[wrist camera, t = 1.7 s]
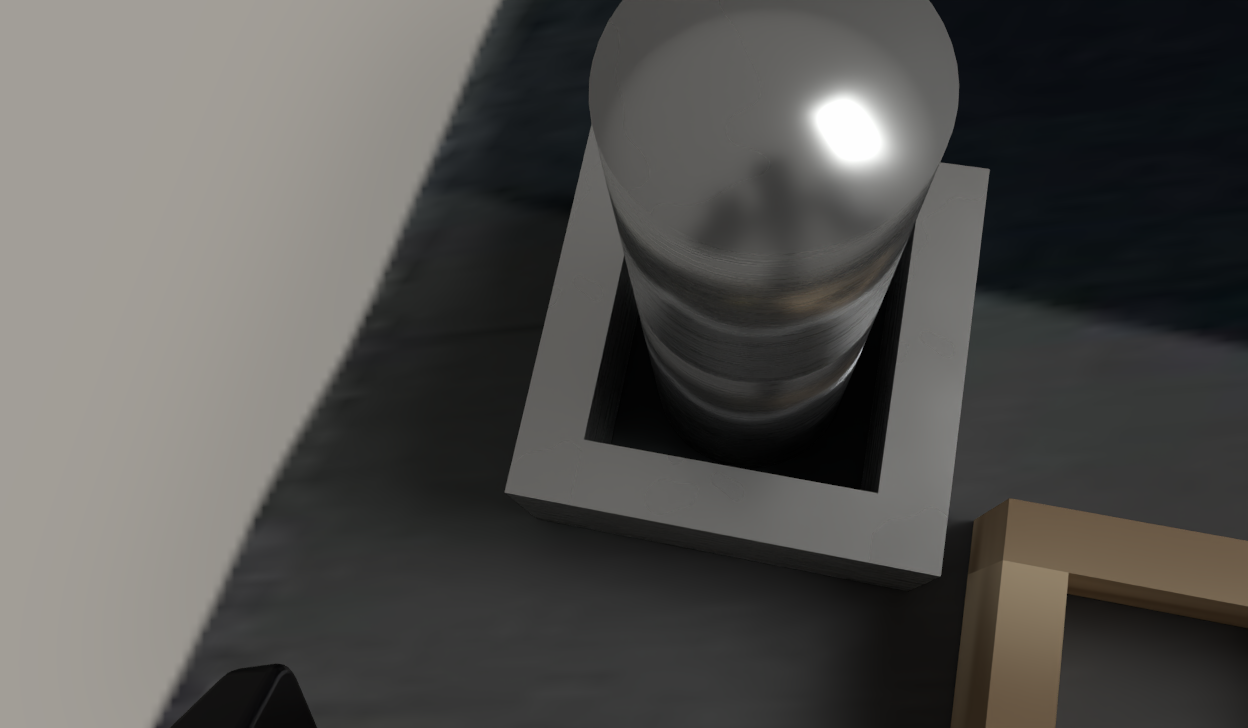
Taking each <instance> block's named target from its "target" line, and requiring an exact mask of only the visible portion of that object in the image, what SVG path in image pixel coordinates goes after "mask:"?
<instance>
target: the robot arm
mask: <svg viewBox="0 0 1248 728" xmlns="http://www.w3.org/2000/svg"><path fill="white" fill-rule="evenodd" d="M170 728H317V726H316V724H315V722H314V719H313V717H312V715H311V712H310V710H309V708H308V705H307V703H306V701H305V698H304V696H303V693H302V691H301V689H300V686H299V684H298V682H297V679H296V677H295V676H294V674H293V672H292V671H291V670H290V669H289V668H288V667H287V666H285V665H282V664H270V665H262V666H255V667H248V668H241V669H237V670H234V671H231V672H229V673H227V674H226V675H225V676H224V677H222V678H221V679H220V680H219V681H218V682H217V683H216V684H215V685H214V686H213V687H212V688H211V689H210V690H209V691H208V692H207V693H205V694H204V695H203V696H202V697H201V698H200V699H199V700H198V701H197V702H196V703H195V704H194V705H193V706H192V707H191V708H190V709H189V710H188V711H187V712H186V713H185V714H184V715H183V716H182V717H181V718H179V719H178V720H177V721H176V722H175V723H174V724H173V725H172V726H171V727H170Z"/></svg>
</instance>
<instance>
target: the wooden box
mask: <svg viewBox="0 0 1248 728" xmlns="http://www.w3.org/2000/svg"><path fill="white" fill-rule="evenodd" d="M1067 594H1072V595H1077V596H1082V597H1087V598H1093V599H1098V600H1103V601H1108V602H1113V603H1119V604H1124V605H1129V606H1134V607H1140V608H1145V609H1150V610H1155V611H1160V612H1166V613H1171V614H1176V615H1181V616H1187V617H1192V618H1197V619H1202V620H1207V621H1213V622H1218V623H1223V624H1228V625H1234V626H1239V627H1244V628H1248V541H1244V540H1238V539H1233V538H1227V537H1222V536H1216V535H1211V534H1205V533H1200V532H1194V531H1188V530H1183V529H1177V528H1172V527H1166V526H1161V525H1155V524H1149V523H1144V522H1138V521H1133V520H1127V519H1122V518H1116V517H1110V516H1105V515H1099V514H1094V513H1088V512H1083V511H1077V510H1072V509H1066V508H1060V507H1055V506H1049V505H1044V504H1038V503H1033V502H1027V501H1021V500H1016V499H1010V498H1009V499H1008V500H1006V501H1004V502H1003V503H1001V504H1000V505H998V506H996V507H995V508H993V509H991V510H990V511H988V512H987V513H985V514H983V515H982V516H980V517H979V518H977V519H975V520H974V525H973V534H972V542H971V551H970V560H969V569H968V578H967V587H966V596H965V604H964V613H963V622H962V631H961V640H960V649H959V658H958V666H957V675H956V684H955V693H954V702H953V711H952V720H951V728H1055V725H1056V713H1057V702H1058V690H1059V679H1060V667H1061V656H1062V644H1063V633H1064V621H1065V610H1066V598H1067Z"/></svg>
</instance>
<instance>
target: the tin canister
mask: <svg viewBox="0 0 1248 728" xmlns="http://www.w3.org/2000/svg"><path fill="white" fill-rule="evenodd" d="M958 96H959V79H958V69H957V62H956V58H955V54H954V50H953V46H952V43H951V40H950V38H949V36H948V33H947V31H946V28H945V26H944V24H943V22H942V20H941V19H940V17H939V15H938V14H937V12H936V10H935V9H934V7H933V5H932V4H931V3H930V1H929V0H623V1H622V2H621V3H620V4H619V6H618V7H617V9H616V10H615V12H614V14H613V15H612V17H611V18H610V20H609V21H608V23H607V25H606V27H605V29H604V31H603V33H602V36H601V38H600V40H599V42H598V45H597V49H596V52H595V55H594V58H593V61H592V67H591V73H590V79H589V108H590V115H591V123H592V127H593V131H594V135H595V139H596V143H597V147H598V151H599V155H600V159H601V163H602V167H603V171H604V175H605V179H606V183H607V187H608V191H609V195H610V200H611V204H612V208H613V212H614V216H615V220H616V224H617V228H618V232H619V236H620V240H621V244H622V248H623V252H624V256H625V260H626V264H627V268H628V272H629V276H630V280H631V284H632V288H633V292H634V296H635V300H636V304H637V308H638V312H639V316H640V320H641V324H642V328H643V333H644V337H645V341H646V345H647V349H648V353H649V357H650V361H651V365H652V369H653V373H654V377H655V381H656V385H657V389H658V393H659V397H660V400H661V404H662V407H663V410H664V412H665V414H666V416H667V418H668V420H669V422H670V423H671V425H672V427H673V428H674V429H675V431H676V432H677V433H678V434H679V436H680V437H681V438H682V439H683V440H684V441H685V442H686V443H687V444H688V445H690V446H691V447H692V448H694V449H695V450H696V451H698V452H699V453H701V454H703V455H705V456H706V457H708V458H710V459H713V460H715V461H718V462H720V463H724V464H728V465H732V466H739V467H762V466H769V465H774V464H777V463H781V462H784V461H786V460H788V459H791V458H793V457H795V456H797V455H798V454H800V453H802V452H804V451H805V450H806V449H808V448H809V447H810V446H811V445H813V444H814V443H815V442H816V441H817V440H818V439H819V438H820V437H821V436H822V435H823V433H824V432H825V430H826V429H827V428H828V426H829V425H830V423H831V421H832V419H833V418H834V416H835V414H836V411H837V409H838V407H839V404H840V402H841V399H842V397H843V395H844V392H845V390H846V387H847V385H848V383H849V380H850V378H851V375H852V373H853V370H854V368H855V366H856V363H857V361H858V358H859V356H860V354H861V351H862V349H863V346H864V344H865V342H866V339H867V337H868V334H869V332H870V330H871V327H872V325H873V322H874V320H875V318H876V315H877V313H878V310H879V308H880V306H881V303H882V301H883V298H884V296H885V294H886V291H887V289H888V286H889V284H890V282H891V279H892V277H893V274H894V272H895V270H896V267H897V265H898V262H899V260H900V258H901V255H902V253H903V250H904V248H905V246H906V243H907V241H908V238H909V236H910V234H911V231H912V229H913V226H914V224H915V222H916V219H917V217H918V214H919V212H920V210H921V207H922V205H923V202H924V200H925V198H926V195H927V193H928V190H929V188H930V186H931V183H932V181H933V178H934V176H935V174H936V171H937V169H938V166H939V164H940V162H941V159H942V157H943V154H944V152H945V149H946V147H947V144H948V141H949V139H950V136H951V133H952V131H953V128H954V123H955V118H956V114H957V109H958Z"/></svg>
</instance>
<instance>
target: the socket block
mask: <svg viewBox="0 0 1248 728" xmlns="http://www.w3.org/2000/svg"><path fill="white" fill-rule="evenodd" d="M989 170H990V169H984V168H977V167H969V166H962V165H954V164H947V163H940V164H939V166H938V169H937V171H936V174H935V176H934V178H933V181H932V183H931V186H930V188H929V190H928V193H927V195H926V198H925V200H924V202H923V205H922V207H921V210H920V212H919V214H918V217H917V219H916V222H915V224H914V226H913V229H912V231H911V234H910V236H909V238H908V241H907V243H906V246H905V248H904V250H903V253H902V255H901V258H900V260H899V262H898V265H897V267H896V270H895V272H894V274H893V277H892V279H891V282H890V285H889V292H888V299H887V306H886V313H885V320H884V327H883V334H882V341H881V348H880V355H879V362H878V368H877V375H876V382H875V389H874V396H873V403H872V410H871V417H870V424H869V431H868V438H867V445H866V452H865V459H864V466H863V473H862V480H861V487H860V490H857V489H851V488H846V487H840V486H835V485H829V484H824V483H818V482H813V481H807V480H802V479H797V478H791V477H786V476H780V475H775V474H769V473H764V472H758V471H753V470H747V469H742V468H736V467H731V466H725V465H720V464H714V463H709V462H703V461H698V460H692V459H687V458H681V457H676V456H670V455H665V454H659V453H654V452H648V451H643V450H637V449H632V448H627V447H621V446H616V445H611V441H612V436H613V431H614V427H615V422H616V417H617V412H618V408H619V403H620V398H621V394H622V389H623V384H624V379H625V375H626V370H627V365H628V360H629V356H630V351H631V346H632V342H633V337H634V332H635V327H636V323H637V318H638V313H639V312H638V308H637V304H636V300H635V296H634V292H633V288H632V284H631V280H630V276H629V272H628V268H627V264H626V260H625V256H624V252H623V248H622V244H621V240H620V236H619V232H618V228H617V224H616V220H615V216H614V212H613V208H612V204H611V200H610V195H609V191H608V187H607V183H606V179H605V175H604V171H603V167H602V163H601V159H600V155H599V151H598V147H597V143H596V139H595V135H594V131H593V127H592V125H591V129H590V133H589V138H588V142H587V146H586V150H585V154H584V159H583V163H582V167H581V171H580V176H579V180H578V184H577V188H576V193H575V197H574V201H573V205H572V209H571V214H570V218H569V222H568V226H567V231H566V235H565V239H564V243H563V247H562V252H561V256H560V260H559V264H558V269H557V273H556V277H555V281H554V285H553V290H552V294H551V298H550V302H549V307H548V311H547V315H546V319H545V323H544V328H543V332H542V336H541V340H540V345H539V349H538V353H537V357H536V361H535V366H534V370H533V374H532V378H531V383H530V387H529V391H528V395H527V399H526V404H525V408H524V412H523V416H522V421H521V425H520V429H519V433H518V437H517V442H516V446H515V450H514V454H513V459H512V463H511V467H510V471H509V475H508V480H507V484H506V488H505V492H504V493H506V494H507V495H508V496H509V497H511V498H512V499H513V500H514V501H516V502H517V503H518V504H519V505H521V506H522V507H523V508H524V509H526V510H527V511H528V512H529V513H531V514H532V515H533V516H534V517H536V518H537V519H541V520H546V521H551V522H556V523H562V524H567V525H572V526H577V527H582V528H587V529H592V530H597V531H602V532H608V533H613V534H618V535H623V536H628V537H633V538H638V539H643V540H648V541H654V542H659V543H664V544H669V545H674V546H679V547H684V548H689V549H694V550H700V551H705V552H710V553H715V554H720V555H725V556H730V557H735V558H741V559H746V560H751V561H756V562H761V563H766V564H771V565H776V566H781V567H787V568H792V569H797V570H802V571H807V572H812V573H817V574H822V575H827V576H833V577H838V578H843V579H848V580H853V581H858V582H863V583H868V584H874V585H879V586H884V587H889V588H894V589H899V590H904V591H910V590H912V589H914V588H917V587H919V586H921V585H923V584H925V583H928V582H930V581H932V580H934V579H937V578H939V577H941V571H942V563H943V554H944V546H945V538H946V529H947V521H948V513H949V504H950V496H951V488H952V479H953V471H954V463H955V454H956V446H957V437H958V429H959V421H960V412H961V404H962V396H963V387H964V379H965V371H966V362H967V354H968V346H969V337H970V329H971V321H972V312H973V304H974V295H975V287H976V279H977V270H978V262H979V254H980V245H981V237H982V229H983V220H984V212H985V204H986V195H987V187H988V179H989Z"/></svg>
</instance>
